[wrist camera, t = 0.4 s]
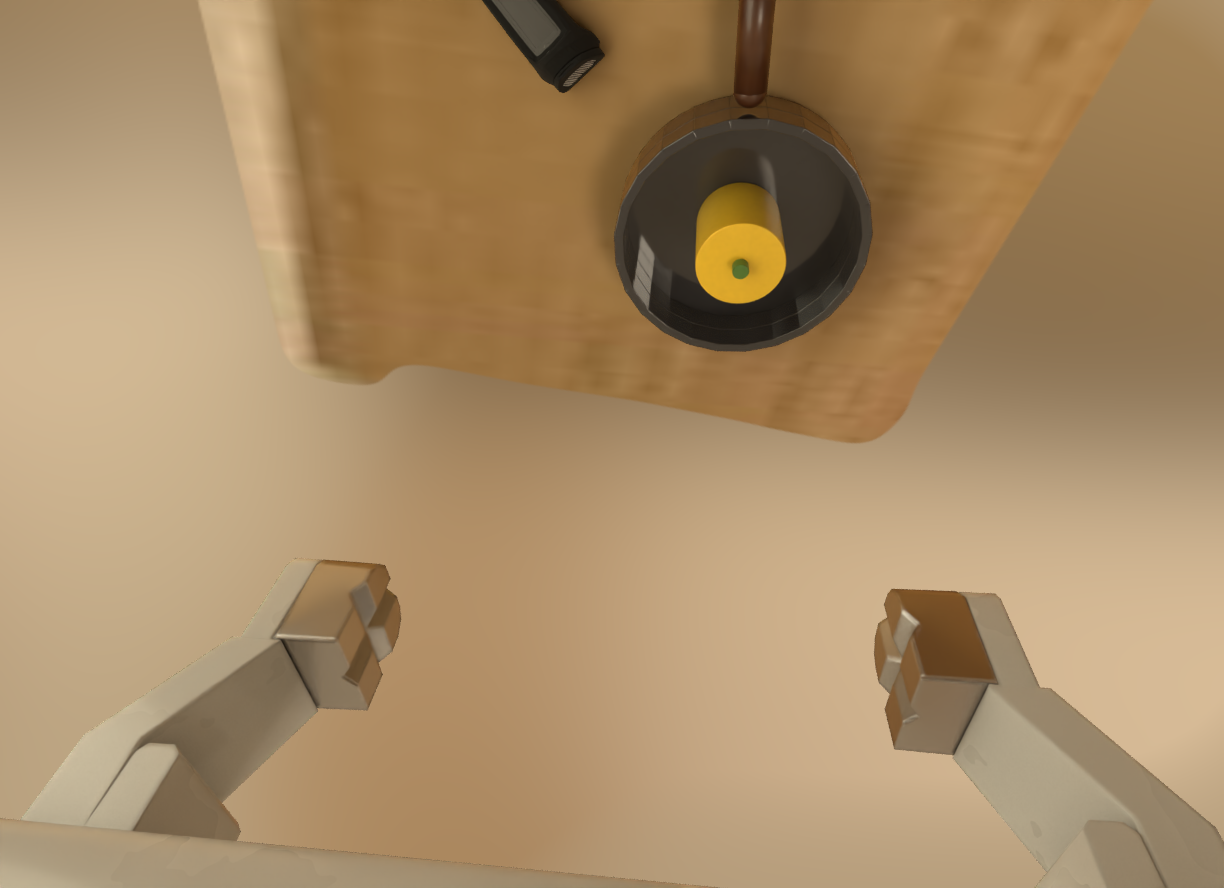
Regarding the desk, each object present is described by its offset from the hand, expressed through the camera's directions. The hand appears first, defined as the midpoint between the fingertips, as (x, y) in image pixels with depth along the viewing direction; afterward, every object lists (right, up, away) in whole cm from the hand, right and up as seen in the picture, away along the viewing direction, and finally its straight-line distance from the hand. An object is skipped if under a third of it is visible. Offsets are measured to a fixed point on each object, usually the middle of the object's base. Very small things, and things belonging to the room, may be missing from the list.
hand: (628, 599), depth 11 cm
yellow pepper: (+8, +17, +34) cm, 39 cm away
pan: (+8, +17, +35) cm, 40 cm away
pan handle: (+7, +25, +25) cm, 36 cm away
